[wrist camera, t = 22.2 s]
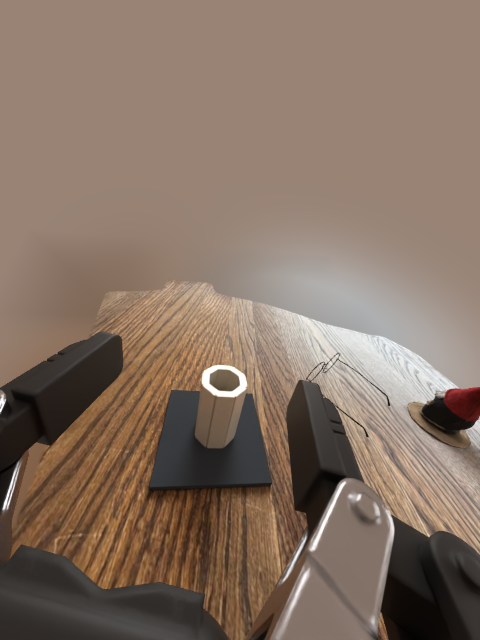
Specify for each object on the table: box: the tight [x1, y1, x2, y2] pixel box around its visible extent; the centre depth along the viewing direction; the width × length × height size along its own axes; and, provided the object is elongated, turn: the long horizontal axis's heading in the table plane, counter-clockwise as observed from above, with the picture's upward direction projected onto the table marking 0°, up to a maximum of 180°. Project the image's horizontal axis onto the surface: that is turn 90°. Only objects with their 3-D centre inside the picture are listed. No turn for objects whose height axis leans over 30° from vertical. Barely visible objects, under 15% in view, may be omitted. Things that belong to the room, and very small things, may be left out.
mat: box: [149, 390, 272, 491], centre depth 26 cm, size 12×12×1 cm
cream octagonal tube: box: [195, 365, 247, 448], centre depth 24 cm, size 5×5×8 cm
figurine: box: [407, 387, 480, 448], centre depth 32 cm, size 8×10×12 cm
